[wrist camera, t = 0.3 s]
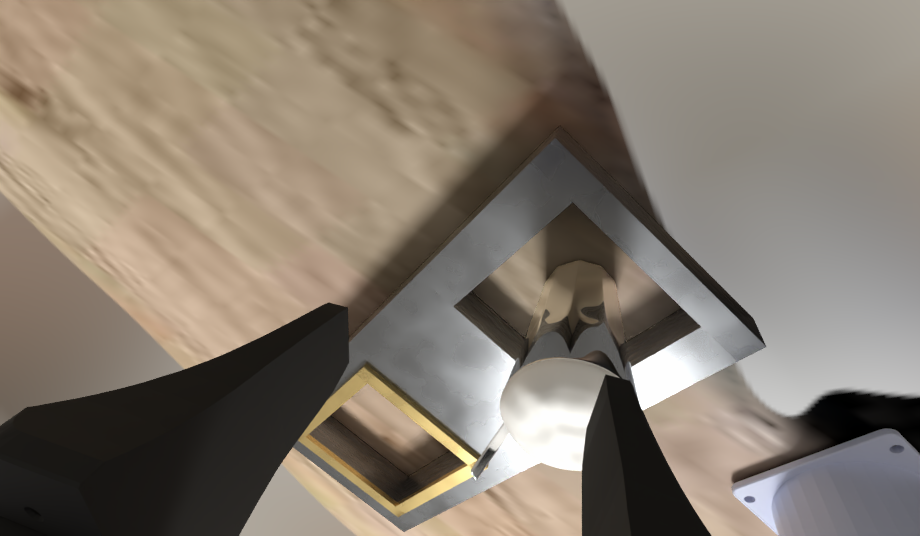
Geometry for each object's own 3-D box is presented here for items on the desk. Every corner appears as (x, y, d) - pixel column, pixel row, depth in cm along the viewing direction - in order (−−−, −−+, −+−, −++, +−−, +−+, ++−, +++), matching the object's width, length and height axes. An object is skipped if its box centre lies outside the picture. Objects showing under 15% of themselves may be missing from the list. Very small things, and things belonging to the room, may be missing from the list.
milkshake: (501, 267, 23) (440, 424, 14) (612, 233, 21) (616, 396, 12) (537, 341, 24) (501, 521, 16) (644, 317, 22) (667, 512, 14)
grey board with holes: (753, 318, 21) (768, 351, 19) (413, 505, 34) (402, 536, 32) (559, 125, 19) (554, 140, 17) (282, 403, 33) (262, 429, 31)
